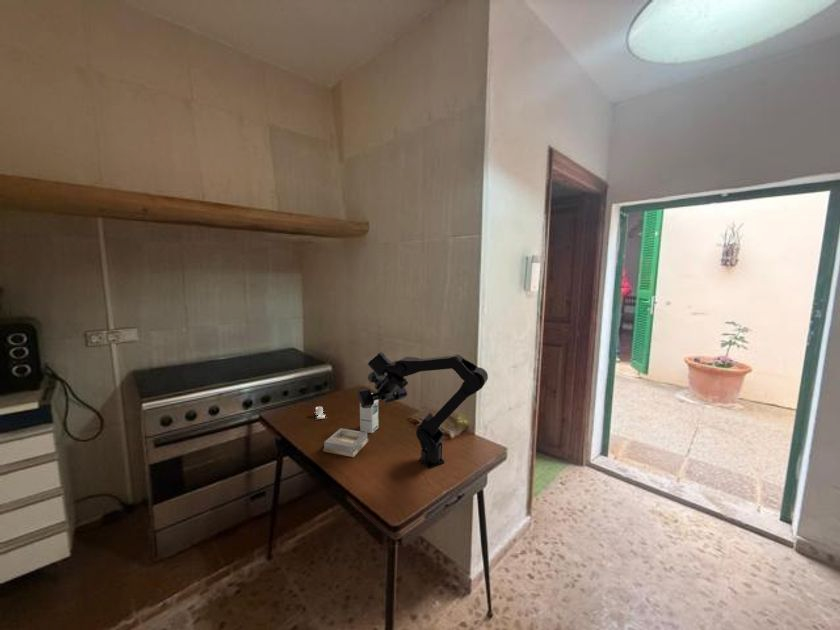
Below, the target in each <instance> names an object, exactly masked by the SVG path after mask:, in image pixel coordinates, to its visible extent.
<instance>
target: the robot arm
mask: <svg viewBox="0 0 840 630" xmlns="http://www.w3.org/2000/svg"><path fill="white" fill-rule="evenodd" d="M367 366H368V367H369V368H370V369H371V370H372V372H370V373H369V374H368V376H367V379H368V381H369V383H370V384H371V383H374V389H375V390H376V392H375V393H373V394H371V393H372V392H371V389H369V388H364V389H360V390H358V392H357V393H356V396H357V398H358V401H359V405H360V404H361V406H362V407H363V408H365V409H366V408H369V407H372V405H373V404H374V401H375V400H378V401H379V400H380V401H382V402H383V401H384V402H385V404H389V403H392V402H396V401H400V400H402V399H405V398H406V397H407V396H408V391H407V388H406V386H407V385H408V384H409V383H408V380H407V378H405V377H408V376H412V375H415V374H417V373H420V372H429V371H441V370H451V369H452V370H453V371H454V372H455V373H456V374H457V375H458V377H459V378H461V380H463V382H462V384H461V385H460V387H459V389H458V390H457V391H455V392H454V394H453V395H452V396H451V397H450V398H449V399H448V400H447V401H446V402H445V403H444V404H443V405H442V407H440V408H439V410H438V411H437V412H436V413H434V414H432V413H431V412H429V413H428V414H427V415H426V416H425V417H424V418H423V419H422V420H421V421H420V423H419V424H417V426H416V428H417V429H416V431H415V433H416V437H417V439H418V441H419V445H420V448H421V451H420V457H419V460H420V461H421V462H422V463H423V464H424V465H426V466H427V468H429V469H431V468H434V467H437V466H439V465H441V464H445V460H444V459H443V443H442V441H443V439H444V437H445V434H444V433H443V431H442V430H441V429H440V428H441V426H442V425H443V423H444V422H445V421H446V420H447V419H448V418H449V417H450V416H451V414H453V413H454V412H455V411H456V410H457V409H458V408H459V407H460V406H461V404H462V403H463V402H464V401H466V400H467V398H469V397H470V396H472V395H474V394H475V393H477V392H478V391H480V390H482V389H483V388H484V386H485V385H486V383H487V381H488V379H489V376H488V372H487V371H486V369H484V368H483V367H478V366H477V365H476V364H474V363H473V362H471V361H469V360H467V359H466V358H464V357H463V356H461V355H460V354H454V355H448V356H447V355H446V356H436V357H429V358H428V357H427V358H419V357H415V356H404V357H403V358H400V359H399V360H394V361H392V362H391V360H389V358H388V357H386V356H385V354H384V353H383V352H382V351H381V352H378V354H377V355H375V356H374V357H373V358H372V359H371V360H369V362H368V363H367Z"/></svg>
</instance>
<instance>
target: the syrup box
mask: <svg viewBox="0 0 840 630" xmlns="http://www.w3.org/2000/svg"><path fill="white" fill-rule="evenodd" d="M371 394H374V393H373V392H371ZM379 406H380V405H379V400H375V401H374V404H373V405H372V407H369V408H366V409H365V408H363V407H362V406H361V404H360V403H359V425H360V427H359V428H360V429H359V431H361V432H367V434H373V433H374V432H375V431H376V430H377V429H379V427H380V425H379V424H380V423H379V422H380V421H379V420H380V417H379V416H380V415H379V411H380V410H379V408H380V407H379Z"/></svg>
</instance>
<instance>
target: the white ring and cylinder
mask: <svg viewBox="0 0 840 630" xmlns="http://www.w3.org/2000/svg"><path fill="white" fill-rule="evenodd" d="M323 412H324V408H323V406H316V407H315V413H316V414H315V415H316V418H317V419H316V420H323V419H326V418H325V416H326V414H324V413H323ZM317 415H318V416H317Z"/></svg>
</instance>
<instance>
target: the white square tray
mask: <svg viewBox="0 0 840 630" xmlns="http://www.w3.org/2000/svg"><path fill="white" fill-rule="evenodd" d="M368 442H369V438H368V432H363V431H360V430H354V429H349V428H343V427H342V428H341V427H340V428H339V429H338V430H336V431H335V432H334V433H333V434H332V435H330V436H329V437H328V438H327V439H326V440H324V443H323V445H324V448H323V450H322V451H323V452H326V453H331V454H335V455H340V456H345V457H353V458H354V457H355V456H356V455H357V454H358V453H359V452H360V451H361V450H362V448H364V446H365V445H366V444H367V443H368Z"/></svg>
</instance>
